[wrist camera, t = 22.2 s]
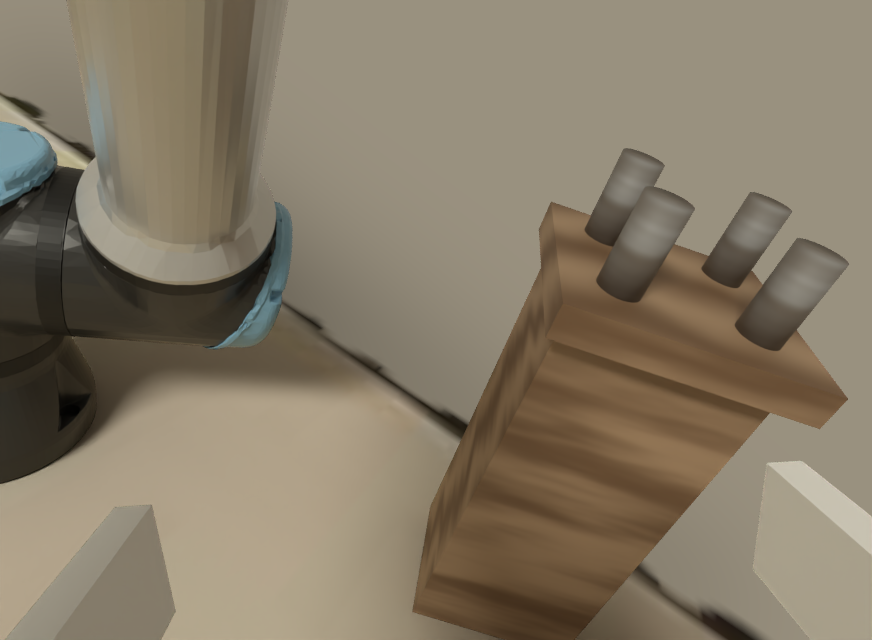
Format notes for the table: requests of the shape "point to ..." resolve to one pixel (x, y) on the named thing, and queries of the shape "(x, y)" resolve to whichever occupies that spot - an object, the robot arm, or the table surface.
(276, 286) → the robot arm
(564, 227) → the wooden pedestal stand
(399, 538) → the table surface
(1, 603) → the table surface
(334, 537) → the table surface
